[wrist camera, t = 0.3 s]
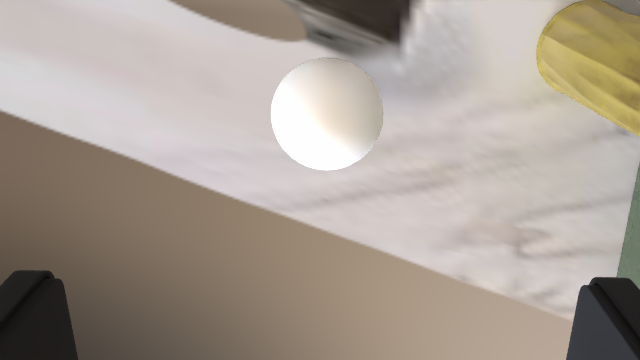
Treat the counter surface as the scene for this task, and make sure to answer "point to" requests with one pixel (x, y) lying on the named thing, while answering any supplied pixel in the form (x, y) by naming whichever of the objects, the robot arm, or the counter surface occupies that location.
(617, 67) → the vase
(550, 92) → the counter surface
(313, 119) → the lightbulb
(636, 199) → the bin
